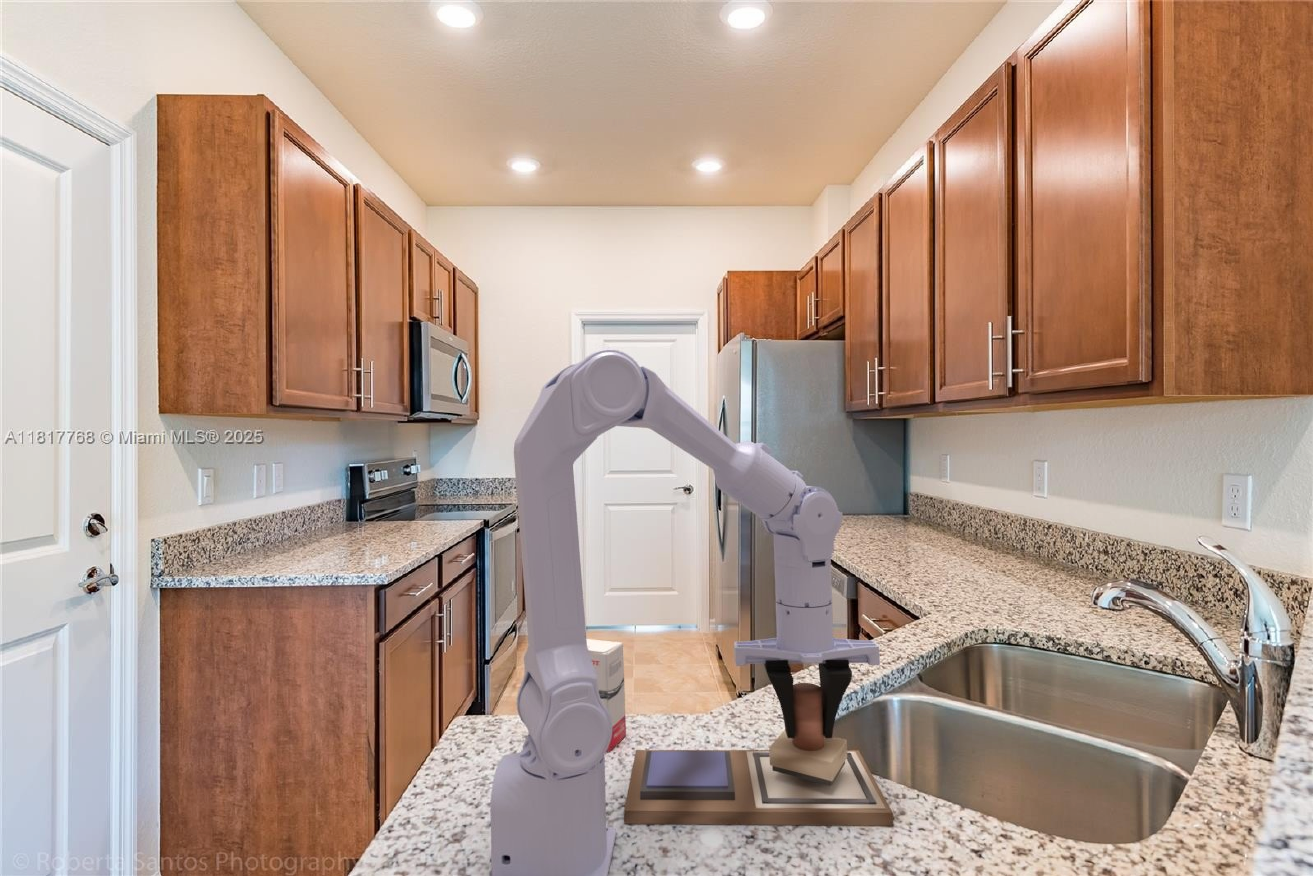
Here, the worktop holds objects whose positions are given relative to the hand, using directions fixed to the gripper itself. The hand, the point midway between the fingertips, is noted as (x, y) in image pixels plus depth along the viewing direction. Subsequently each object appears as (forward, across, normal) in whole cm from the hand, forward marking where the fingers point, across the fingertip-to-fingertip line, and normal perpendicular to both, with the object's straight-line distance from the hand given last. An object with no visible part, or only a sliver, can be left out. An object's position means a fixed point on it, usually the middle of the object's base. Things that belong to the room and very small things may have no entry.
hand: (808, 734), depth 63 cm
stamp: (+3, 0, 0) cm, 4 cm away
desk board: (+6, -6, 0) cm, 8 cm away
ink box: (+6, -25, +12) cm, 28 cm away
